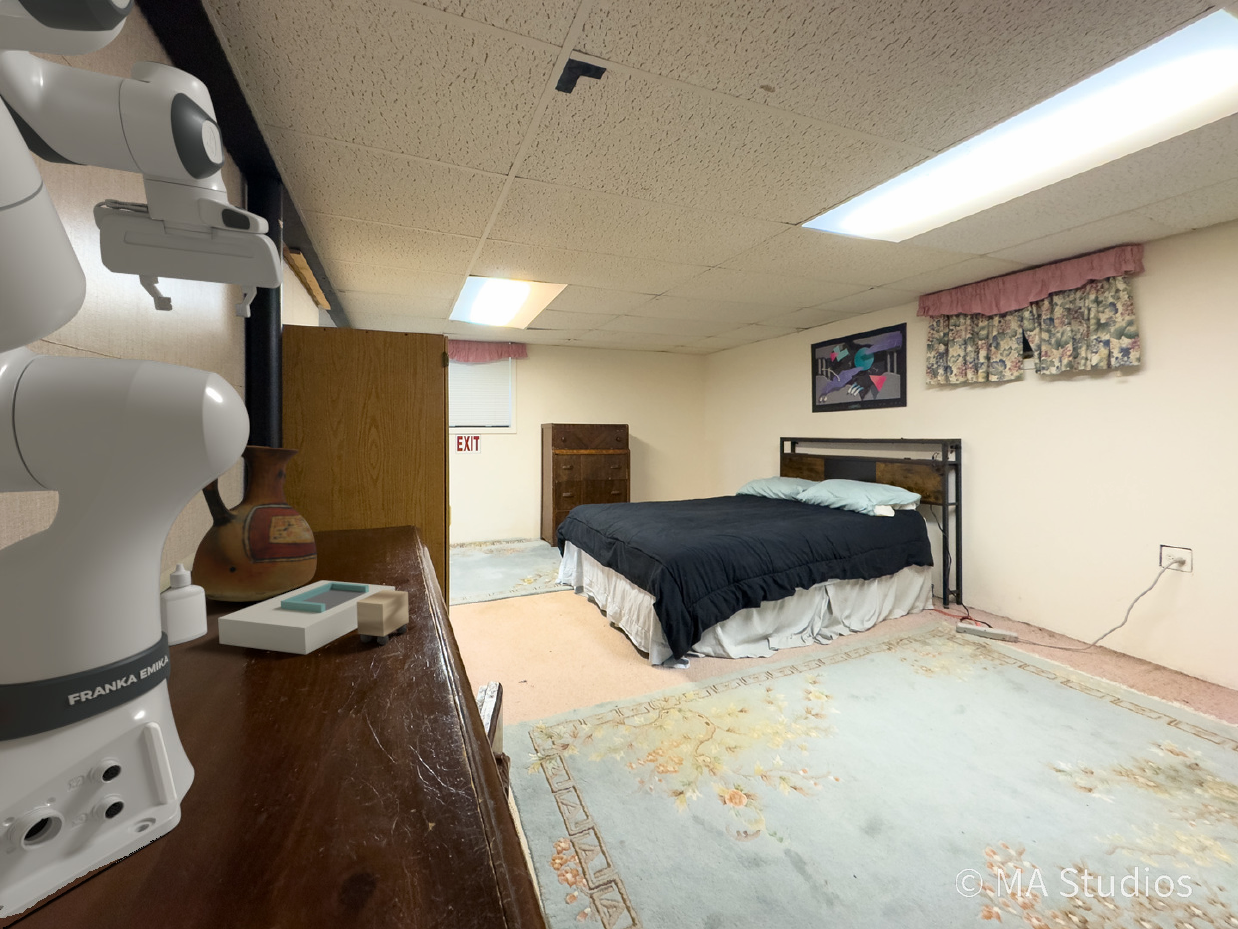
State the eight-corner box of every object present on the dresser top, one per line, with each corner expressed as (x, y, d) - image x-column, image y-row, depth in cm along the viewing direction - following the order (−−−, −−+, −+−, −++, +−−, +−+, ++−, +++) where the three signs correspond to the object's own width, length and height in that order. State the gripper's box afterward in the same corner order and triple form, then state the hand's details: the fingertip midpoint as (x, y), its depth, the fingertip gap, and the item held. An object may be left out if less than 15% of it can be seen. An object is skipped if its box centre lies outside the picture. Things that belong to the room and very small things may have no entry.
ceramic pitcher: (339, 587, 107) (333, 442, 105) (232, 620, 89) (223, 446, 86) (279, 575, 115) (273, 441, 113) (171, 603, 97) (160, 444, 95)
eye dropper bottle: (206, 639, 81) (201, 564, 80) (158, 648, 77) (153, 570, 76) (207, 630, 84) (203, 558, 83) (162, 638, 81) (157, 563, 80)
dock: (305, 654, 75) (304, 619, 75) (219, 643, 79) (217, 610, 79) (395, 607, 95) (394, 580, 94) (322, 600, 98) (321, 574, 98)
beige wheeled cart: (384, 646, 78) (382, 604, 77) (358, 643, 79) (356, 601, 79) (409, 631, 84) (407, 591, 83) (384, 628, 85) (383, 589, 84)
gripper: (77, 194, 64) (101, 308, 69) (271, 221, 72) (281, 322, 77) (101, 197, 70) (122, 303, 74) (280, 222, 78) (288, 317, 83)
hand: (204, 313), depth 76 cm, fingers open, 8 cm apart
